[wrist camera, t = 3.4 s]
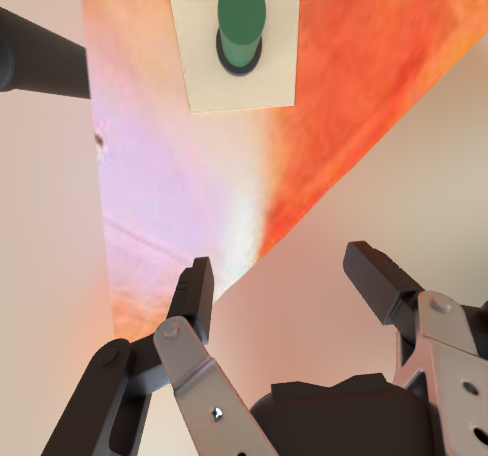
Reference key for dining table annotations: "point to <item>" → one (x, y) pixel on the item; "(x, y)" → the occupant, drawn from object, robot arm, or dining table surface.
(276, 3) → the napkin
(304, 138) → the dining table surface
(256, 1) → the green cylinder with base
